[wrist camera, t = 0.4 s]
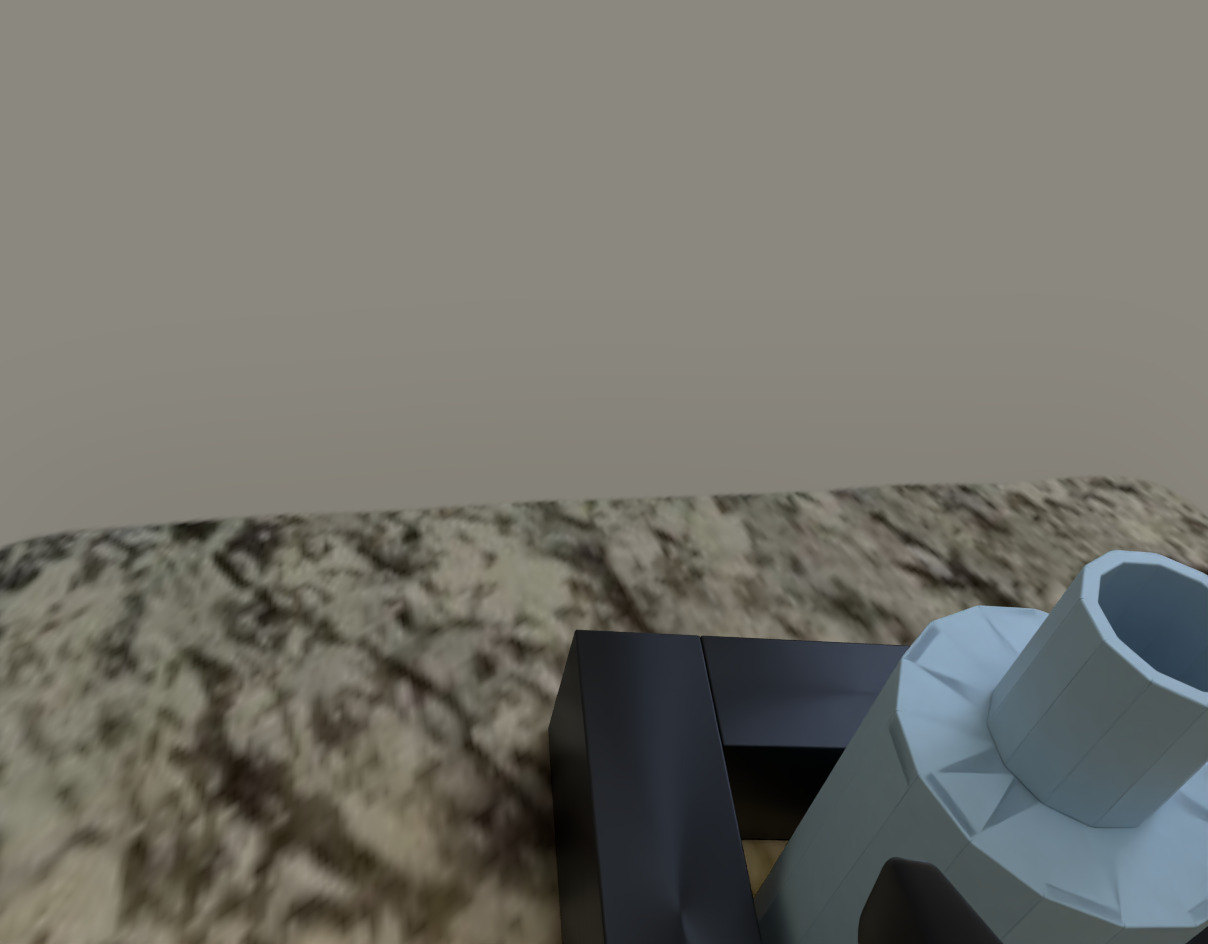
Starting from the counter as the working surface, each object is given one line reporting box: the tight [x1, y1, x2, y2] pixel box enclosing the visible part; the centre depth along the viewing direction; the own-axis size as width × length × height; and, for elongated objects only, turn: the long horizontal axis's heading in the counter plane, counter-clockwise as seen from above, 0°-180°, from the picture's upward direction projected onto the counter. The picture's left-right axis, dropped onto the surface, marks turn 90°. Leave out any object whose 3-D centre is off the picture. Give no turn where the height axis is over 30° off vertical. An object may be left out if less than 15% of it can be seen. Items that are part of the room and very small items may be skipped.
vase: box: [753, 550, 1208, 944], centre depth 22 cm, size 7×7×14 cm
